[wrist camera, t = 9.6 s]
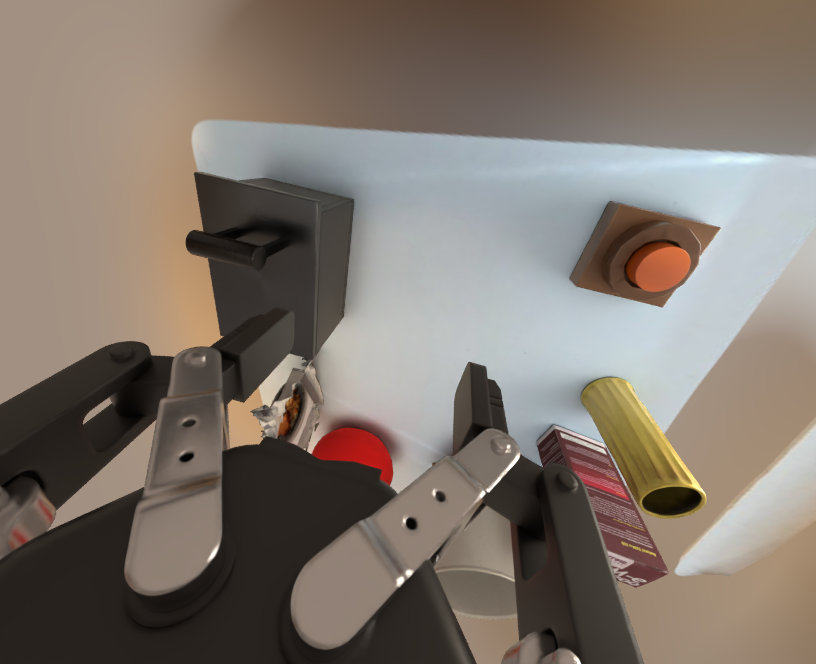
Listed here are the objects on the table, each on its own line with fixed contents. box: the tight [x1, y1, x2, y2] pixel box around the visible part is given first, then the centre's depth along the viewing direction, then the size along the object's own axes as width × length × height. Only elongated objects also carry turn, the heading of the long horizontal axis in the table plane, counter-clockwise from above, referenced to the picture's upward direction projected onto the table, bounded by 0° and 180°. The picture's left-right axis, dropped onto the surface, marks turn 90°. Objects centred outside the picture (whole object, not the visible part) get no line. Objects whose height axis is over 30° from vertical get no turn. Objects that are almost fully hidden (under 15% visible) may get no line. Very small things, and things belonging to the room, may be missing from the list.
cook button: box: [626, 242, 690, 292], centre depth 26 cm, size 4×4×2 cm
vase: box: [581, 378, 706, 519], centre depth 33 cm, size 6×6×14 cm
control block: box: [570, 201, 721, 307], centre depth 28 cm, size 8×9×4 cm
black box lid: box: [186, 172, 321, 359], centre depth 25 cm, size 16×10×6 cm, turn 169°
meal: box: [251, 351, 324, 451], centre depth 41 cm, size 15×4×13 cm, turn 173°
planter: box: [432, 463, 517, 619], centre depth 42 cm, size 13×13×18 cm
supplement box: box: [536, 425, 669, 587], centre depth 37 cm, size 9×5×16 cm, turn 69°
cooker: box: [239, 178, 354, 355], centre depth 32 cm, size 15×10×9 cm
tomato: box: [312, 428, 393, 486], centre depth 47 cm, size 12×13×11 cm
